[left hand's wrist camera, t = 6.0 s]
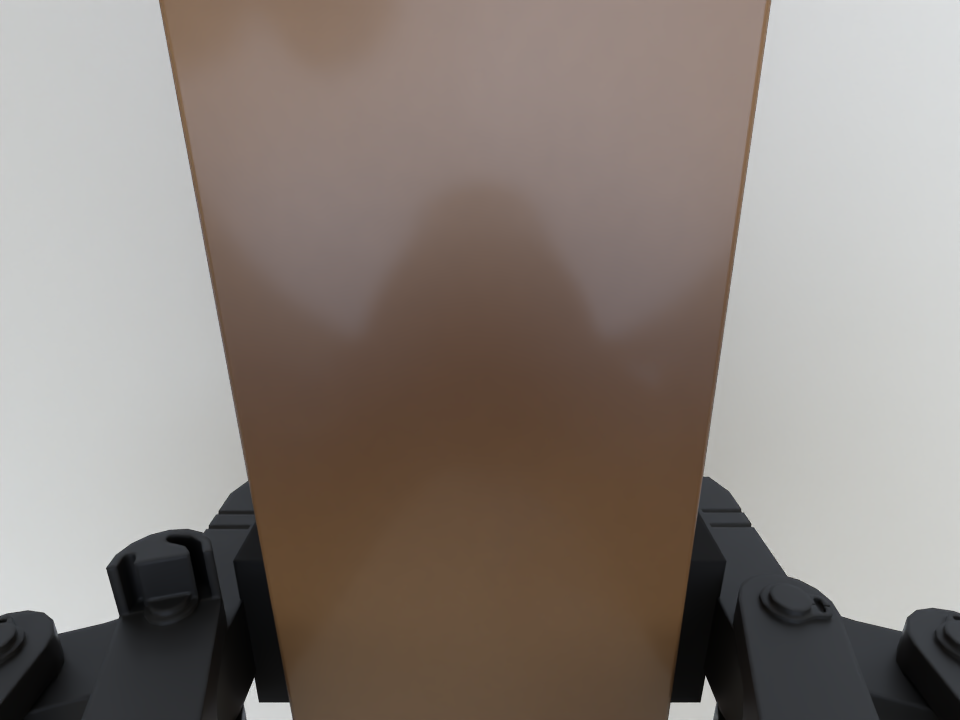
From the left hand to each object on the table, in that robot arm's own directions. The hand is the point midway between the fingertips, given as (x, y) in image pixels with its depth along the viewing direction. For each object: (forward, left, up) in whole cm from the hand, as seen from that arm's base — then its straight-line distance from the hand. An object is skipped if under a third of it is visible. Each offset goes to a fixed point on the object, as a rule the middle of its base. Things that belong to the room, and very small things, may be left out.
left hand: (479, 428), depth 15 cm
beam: (+17, -12, -1) cm, 21 cm away
